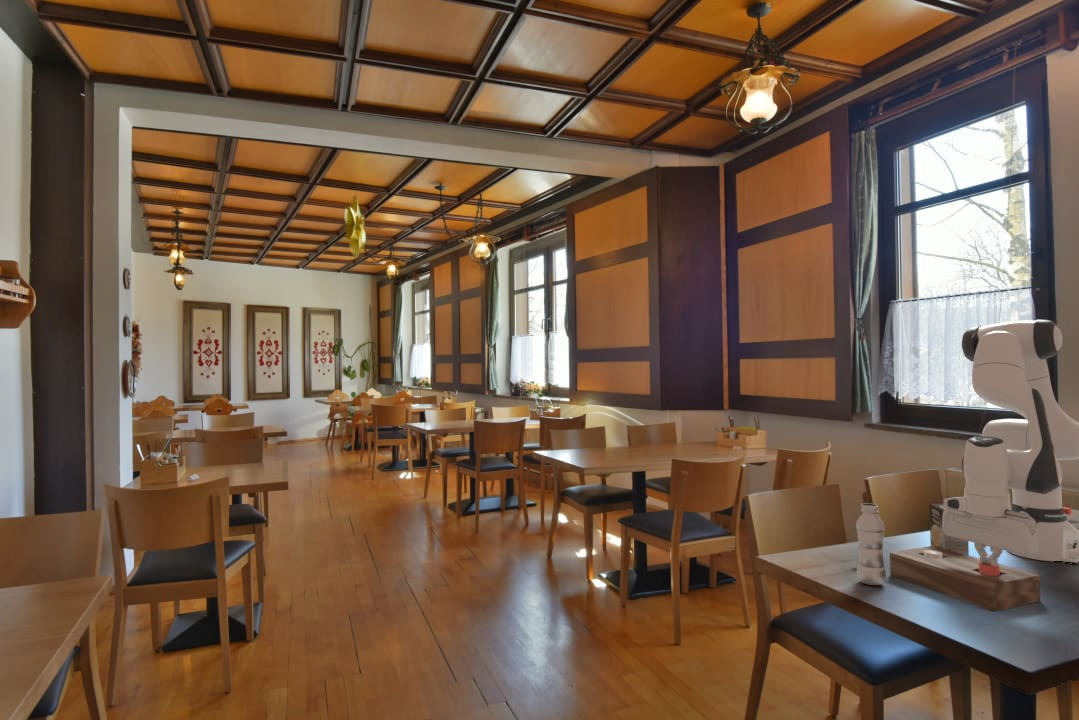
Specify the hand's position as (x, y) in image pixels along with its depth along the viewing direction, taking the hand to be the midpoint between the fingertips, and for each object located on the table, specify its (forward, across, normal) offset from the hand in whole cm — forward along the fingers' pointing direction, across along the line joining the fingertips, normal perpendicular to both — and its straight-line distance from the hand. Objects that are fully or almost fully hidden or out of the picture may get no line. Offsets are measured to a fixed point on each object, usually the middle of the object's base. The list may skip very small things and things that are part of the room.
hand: (988, 564), depth 143 cm
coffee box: (+8, +20, -14) cm, 26 cm away
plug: (+8, +14, 0) cm, 16 cm away
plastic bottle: (+8, +17, +18) cm, 26 cm away
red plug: (+7, 0, 0) cm, 7 cm away
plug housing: (+8, +7, 0) cm, 10 cm away
